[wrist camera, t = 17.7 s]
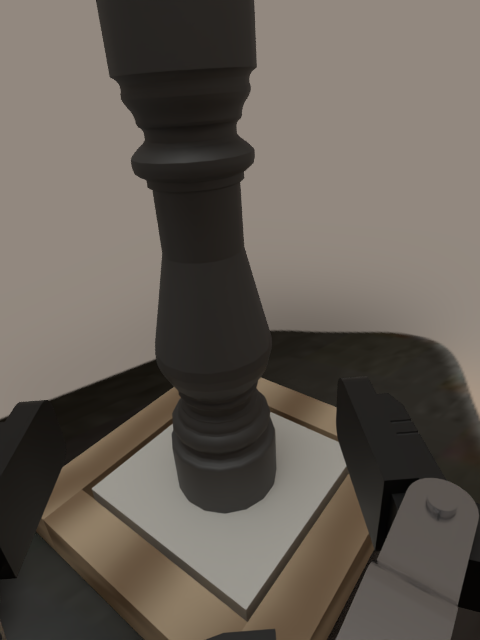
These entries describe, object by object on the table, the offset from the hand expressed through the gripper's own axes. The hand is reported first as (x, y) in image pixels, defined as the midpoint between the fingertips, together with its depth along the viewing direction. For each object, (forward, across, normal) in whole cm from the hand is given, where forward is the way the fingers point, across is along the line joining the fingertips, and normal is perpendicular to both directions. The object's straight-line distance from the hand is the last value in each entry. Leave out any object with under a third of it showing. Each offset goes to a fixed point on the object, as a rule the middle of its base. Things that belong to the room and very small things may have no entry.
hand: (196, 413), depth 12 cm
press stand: (+10, 0, +16) cm, 19 cm away
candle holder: (+10, 0, +14) cm, 17 cm away
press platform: (+10, 0, +16) cm, 19 cm away
